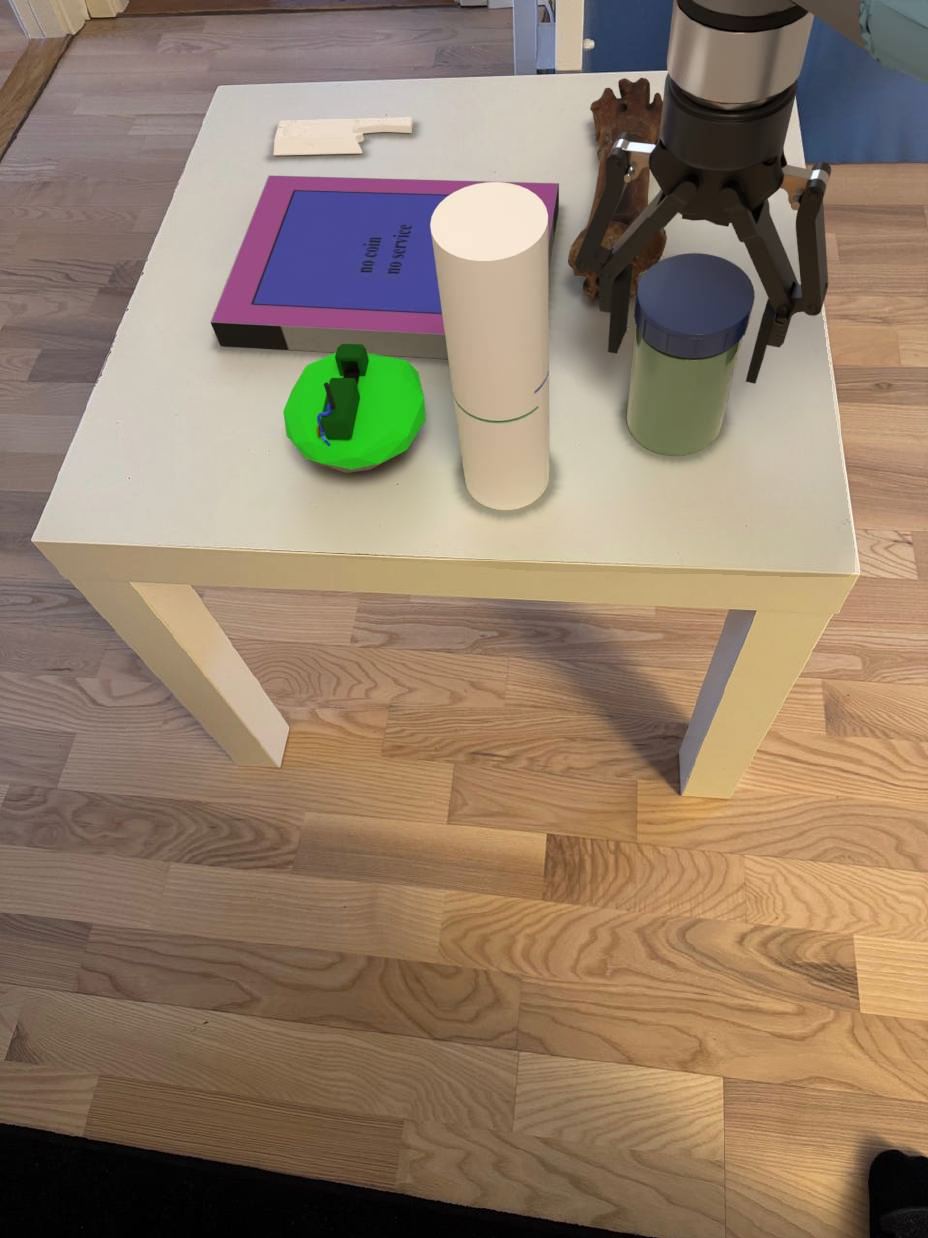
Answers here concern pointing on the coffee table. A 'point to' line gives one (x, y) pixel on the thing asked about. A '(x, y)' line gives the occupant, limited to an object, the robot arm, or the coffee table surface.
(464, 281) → the cylindrical container
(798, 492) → the coffee table surface
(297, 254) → the book
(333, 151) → the butcher knife
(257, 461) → the coffee table surface
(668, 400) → the jar
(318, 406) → the green rounded piece
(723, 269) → the jar lid
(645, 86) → the bone
